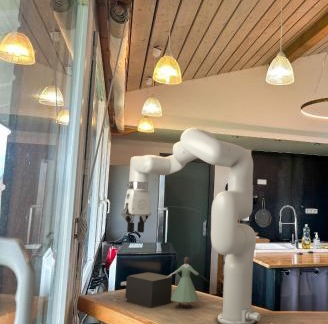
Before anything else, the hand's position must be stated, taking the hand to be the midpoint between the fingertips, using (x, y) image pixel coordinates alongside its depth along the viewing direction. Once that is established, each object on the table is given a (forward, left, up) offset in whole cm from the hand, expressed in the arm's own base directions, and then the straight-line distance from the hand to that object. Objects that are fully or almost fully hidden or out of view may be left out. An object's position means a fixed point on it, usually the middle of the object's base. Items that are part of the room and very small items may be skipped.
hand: (135, 232), depth 153 cm
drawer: (-5, 0, -24) cm, 25 cm away
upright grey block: (-10, 0, -25) cm, 27 cm away
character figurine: (-26, -4, -26) cm, 36 cm away
